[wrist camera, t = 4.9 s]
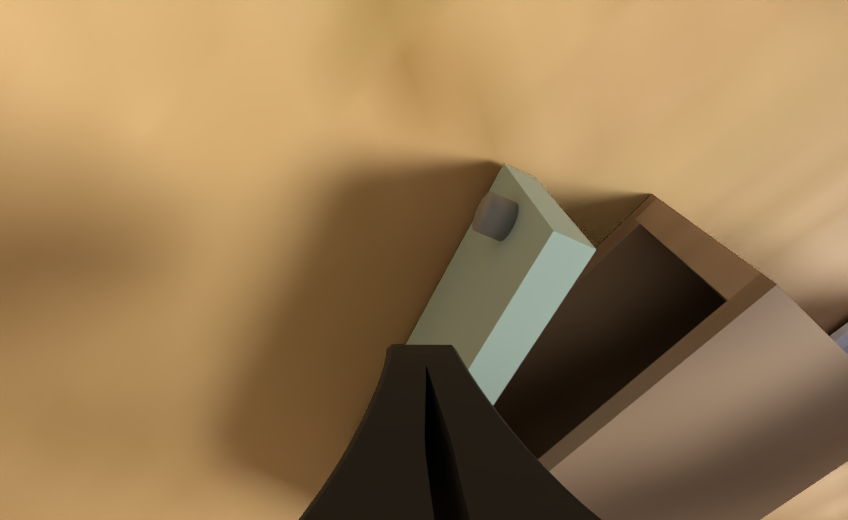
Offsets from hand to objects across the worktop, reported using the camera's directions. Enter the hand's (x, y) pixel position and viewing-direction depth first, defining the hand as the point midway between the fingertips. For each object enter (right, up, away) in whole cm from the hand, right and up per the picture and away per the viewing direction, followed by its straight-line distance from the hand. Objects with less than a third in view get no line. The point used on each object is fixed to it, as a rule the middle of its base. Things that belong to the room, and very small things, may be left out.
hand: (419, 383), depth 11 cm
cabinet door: (0, 0, +9) cm, 9 cm away
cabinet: (+6, -3, +11) cm, 13 cm away
